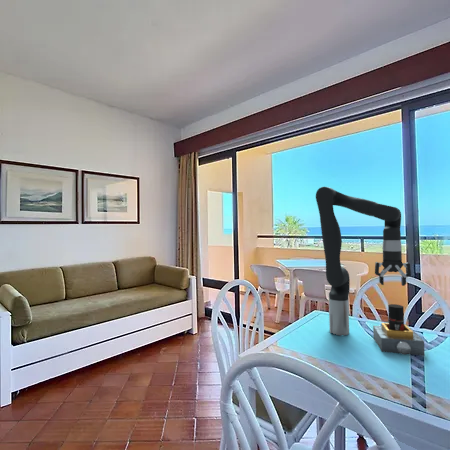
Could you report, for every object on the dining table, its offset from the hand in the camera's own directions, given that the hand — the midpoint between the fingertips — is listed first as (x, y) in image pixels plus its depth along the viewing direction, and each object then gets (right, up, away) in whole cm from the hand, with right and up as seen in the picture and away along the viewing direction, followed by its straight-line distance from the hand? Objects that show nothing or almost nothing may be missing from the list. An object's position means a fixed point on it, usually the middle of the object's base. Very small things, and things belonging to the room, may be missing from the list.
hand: (392, 285), depth 132 cm
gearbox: (0, -27, -3) cm, 27 cm away
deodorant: (0, -24, -3) cm, 24 cm away
